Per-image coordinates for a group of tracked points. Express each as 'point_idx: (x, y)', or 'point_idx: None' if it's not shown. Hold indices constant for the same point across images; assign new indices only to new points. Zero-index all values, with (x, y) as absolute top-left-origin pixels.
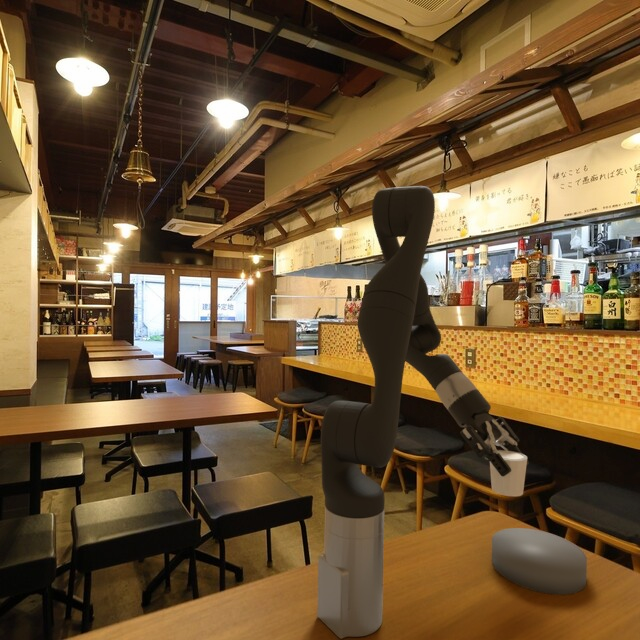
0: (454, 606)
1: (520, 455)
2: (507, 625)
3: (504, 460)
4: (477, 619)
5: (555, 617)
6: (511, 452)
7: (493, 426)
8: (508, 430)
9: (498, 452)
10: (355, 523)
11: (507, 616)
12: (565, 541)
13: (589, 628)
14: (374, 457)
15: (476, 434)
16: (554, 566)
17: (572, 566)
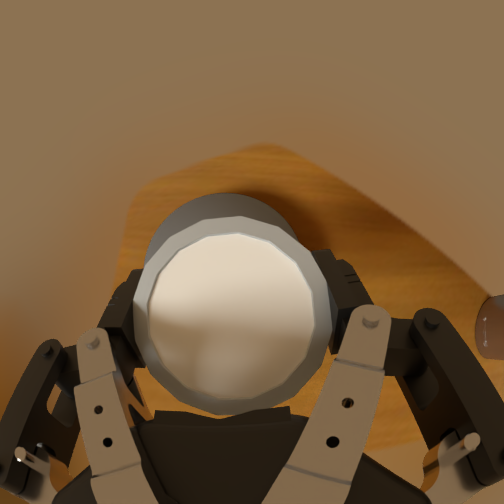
0: (413, 285)
1: (172, 273)
2: (387, 225)
3: (325, 277)
4: (408, 253)
5: (323, 199)
6: (160, 334)
7: (165, 495)
8: (35, 406)
9: (226, 378)
10: None
11: (374, 235)
12: (154, 251)
13: (306, 168)
14: None
15: (486, 405)
16: (262, 217)
17: (235, 201)
